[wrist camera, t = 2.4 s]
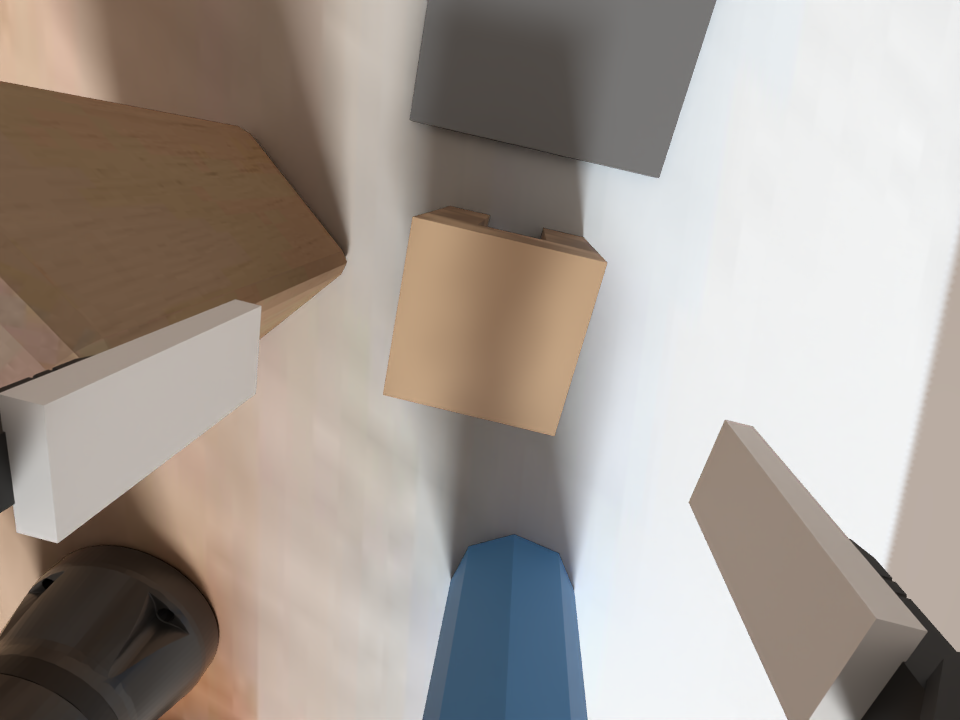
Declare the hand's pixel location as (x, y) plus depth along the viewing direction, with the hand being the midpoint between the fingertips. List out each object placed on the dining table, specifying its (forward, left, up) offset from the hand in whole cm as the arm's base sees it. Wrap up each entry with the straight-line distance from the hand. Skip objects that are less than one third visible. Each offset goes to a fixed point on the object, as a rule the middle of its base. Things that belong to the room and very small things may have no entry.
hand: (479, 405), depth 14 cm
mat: (0, +15, -18) cm, 23 cm away
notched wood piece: (0, 0, -18) cm, 18 cm away
